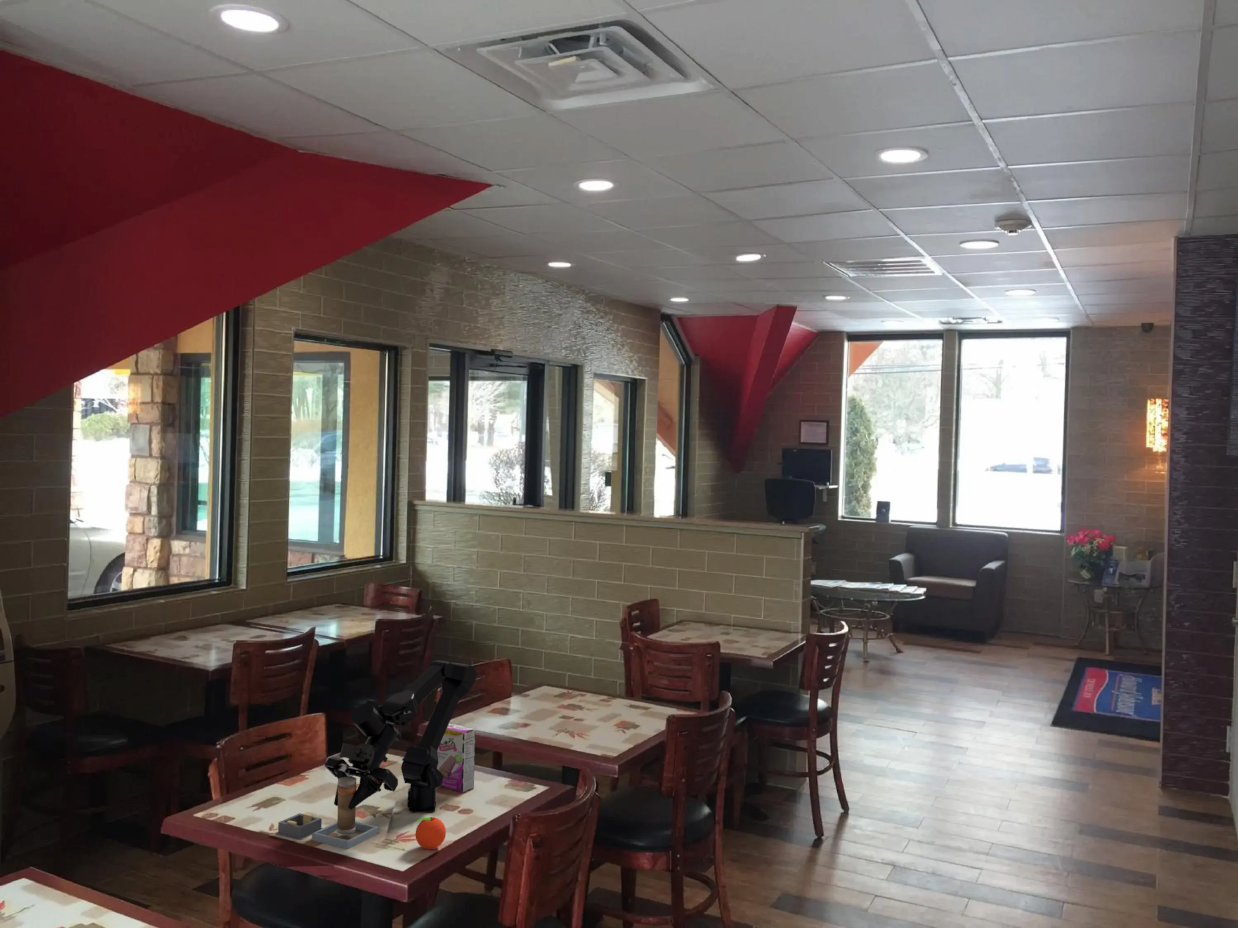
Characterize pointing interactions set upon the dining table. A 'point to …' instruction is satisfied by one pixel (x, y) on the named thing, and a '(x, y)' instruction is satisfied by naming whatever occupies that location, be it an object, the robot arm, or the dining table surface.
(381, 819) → the dining table surface
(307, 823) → the socket block
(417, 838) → the clementine
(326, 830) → the tray
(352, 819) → the peg
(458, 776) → the candy bar box
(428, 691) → the robot arm
